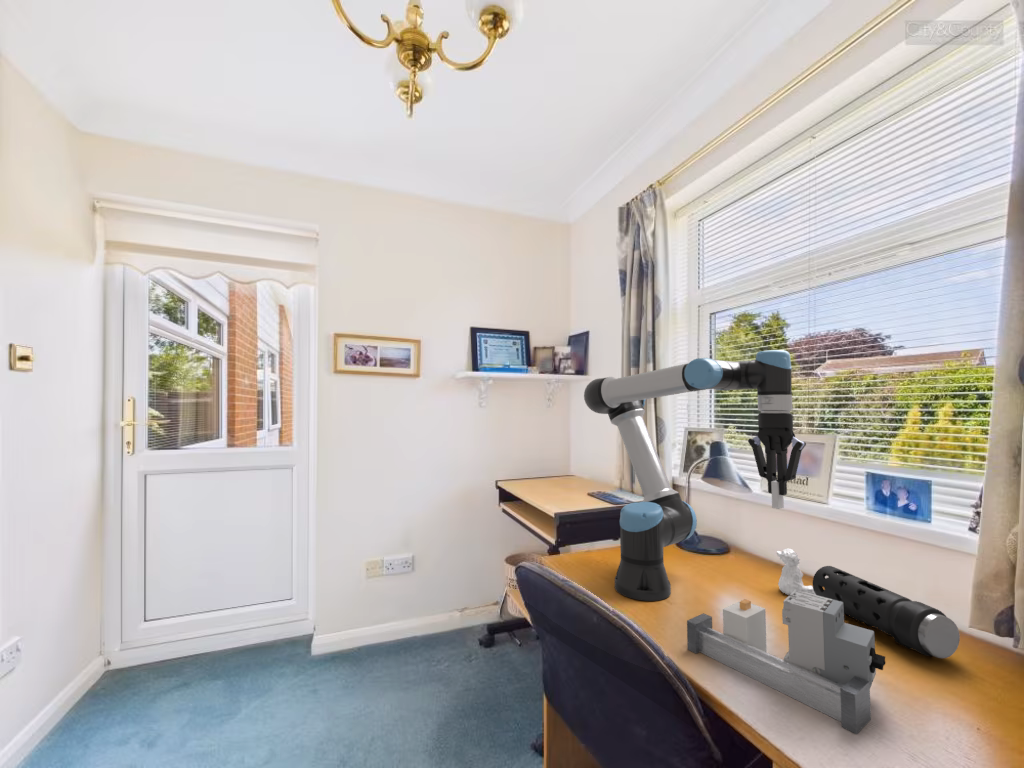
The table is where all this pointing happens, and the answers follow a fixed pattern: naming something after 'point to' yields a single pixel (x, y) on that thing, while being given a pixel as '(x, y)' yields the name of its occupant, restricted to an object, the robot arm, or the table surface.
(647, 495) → the robot arm
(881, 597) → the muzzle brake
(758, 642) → the mounted module
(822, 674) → the circuit breaker
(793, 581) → the white creature statuette
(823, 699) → the din rail
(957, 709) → the table surface
